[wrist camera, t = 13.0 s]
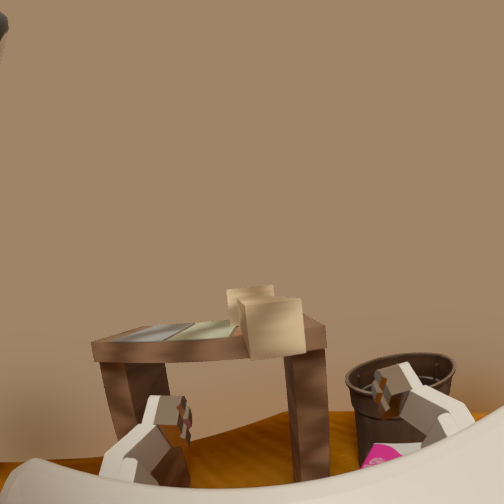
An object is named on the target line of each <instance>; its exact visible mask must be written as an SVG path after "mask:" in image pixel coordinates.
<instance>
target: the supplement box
mask: <svg viewBox="0 0 504 504" xmlns="http://www.w3.org/2000/svg"><path fill="white" fill-rule="evenodd" d="M421 444H422V443H421V442H420V443H398V444H389V443H374V445H373V446H372V448H371V450H370V452H369V454H368V456H367V457H366V459H365V461H364V463H363V464H362V466H361V468H360V469H363V468H367V467H370V466H373V465H377V464H380V463H383V462H386V461H389V460H392V459H395V458H398V457H401V456H403V455H406V454H409V453H411V452H414V451H416V450H419V449H421V447H420V446H421Z"/></svg>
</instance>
